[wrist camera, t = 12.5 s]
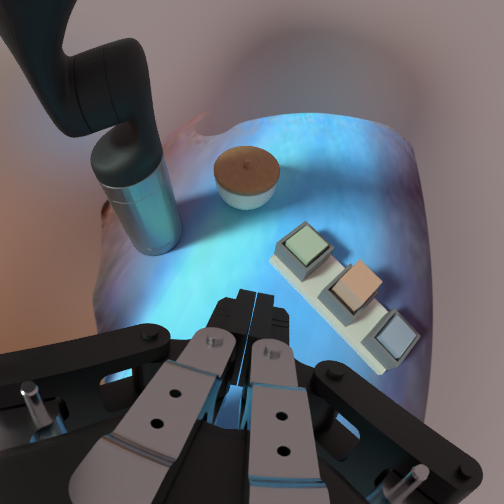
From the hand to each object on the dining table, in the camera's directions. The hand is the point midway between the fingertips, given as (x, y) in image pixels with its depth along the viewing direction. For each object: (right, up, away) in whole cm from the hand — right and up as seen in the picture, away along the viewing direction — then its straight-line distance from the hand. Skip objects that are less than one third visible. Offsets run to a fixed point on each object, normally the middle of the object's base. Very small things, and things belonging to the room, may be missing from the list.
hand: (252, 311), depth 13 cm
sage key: (+8, +2, +33) cm, 34 cm away
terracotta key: (+14, -3, +27) cm, 31 cm away
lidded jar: (-1, +12, +41) cm, 43 cm away
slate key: (+20, -11, +27) cm, 35 cm away
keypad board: (+14, -5, +32) cm, 35 cm away
